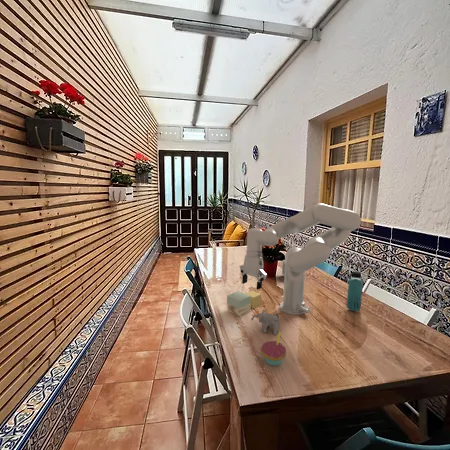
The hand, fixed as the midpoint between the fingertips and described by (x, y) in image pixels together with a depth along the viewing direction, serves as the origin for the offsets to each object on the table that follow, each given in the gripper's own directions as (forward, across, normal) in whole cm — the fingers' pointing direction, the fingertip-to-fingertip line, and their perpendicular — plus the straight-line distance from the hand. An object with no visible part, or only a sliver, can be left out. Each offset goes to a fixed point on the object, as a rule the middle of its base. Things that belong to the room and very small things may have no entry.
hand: (251, 285), depth 131 cm
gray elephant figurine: (+10, -20, +13) cm, 26 cm away
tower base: (+11, -1, +9) cm, 14 cm away
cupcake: (+10, -35, +28) cm, 46 cm away
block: (+10, -1, -1) cm, 10 cm away
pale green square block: (+7, 0, +9) cm, 12 cm away
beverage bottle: (+9, -38, -34) cm, 51 cm away
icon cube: (+10, +11, -54) cm, 56 cm away
